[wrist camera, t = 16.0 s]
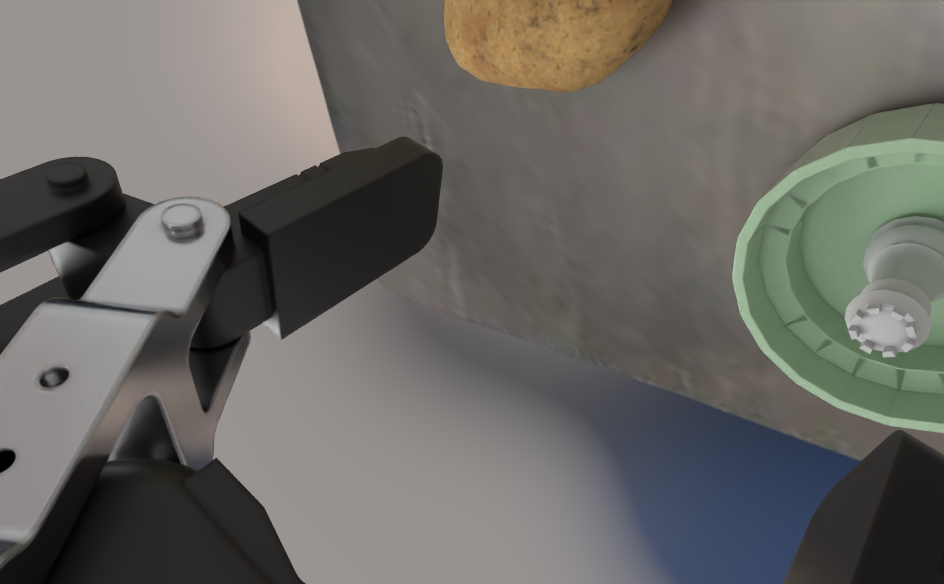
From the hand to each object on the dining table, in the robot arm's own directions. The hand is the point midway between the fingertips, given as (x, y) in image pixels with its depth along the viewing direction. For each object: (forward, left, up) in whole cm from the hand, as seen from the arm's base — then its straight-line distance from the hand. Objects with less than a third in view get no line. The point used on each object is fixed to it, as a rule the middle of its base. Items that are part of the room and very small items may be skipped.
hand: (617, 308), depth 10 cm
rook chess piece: (+11, +6, -28) cm, 30 cm away
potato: (+5, -16, -28) cm, 33 cm away
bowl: (+11, +6, -28) cm, 31 cm away
